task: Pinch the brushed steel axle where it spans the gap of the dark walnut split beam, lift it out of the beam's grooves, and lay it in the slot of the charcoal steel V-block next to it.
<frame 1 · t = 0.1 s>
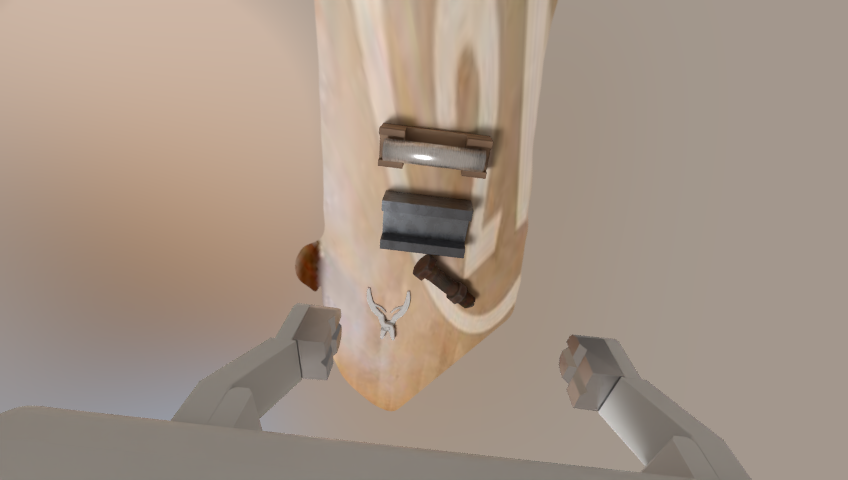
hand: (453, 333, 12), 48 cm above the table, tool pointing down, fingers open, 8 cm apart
bolt: (446, 277, 71), on the table
axle: (434, 155, 52), point 5 cm above the table, touching beam
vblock: (425, 219, 63), on the table
pliers: (388, 312, 77), on the table
beam: (434, 147, 56), on the table
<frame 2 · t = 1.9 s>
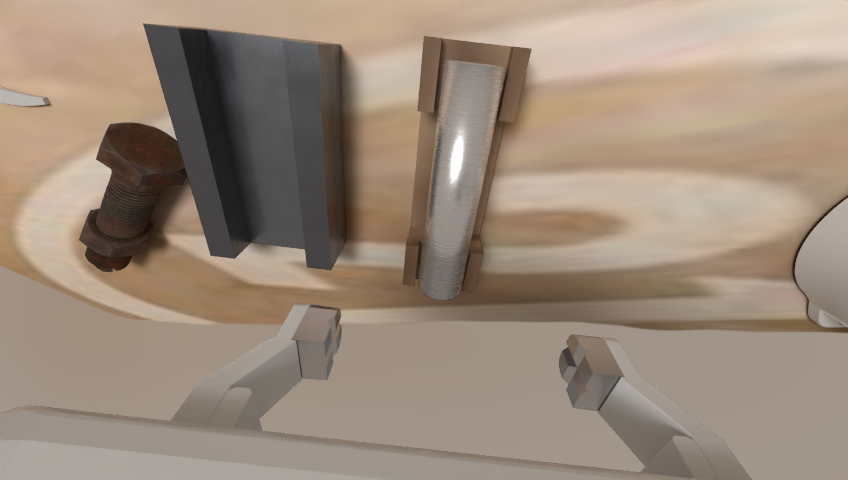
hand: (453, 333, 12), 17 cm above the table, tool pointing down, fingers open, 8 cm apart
bolt: (148, 197, 30), on the table
axle: (454, 194, 22), point 5 cm above the table, touching beam
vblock: (282, 151, 26), on the table
beam: (453, 171, 26), on the table
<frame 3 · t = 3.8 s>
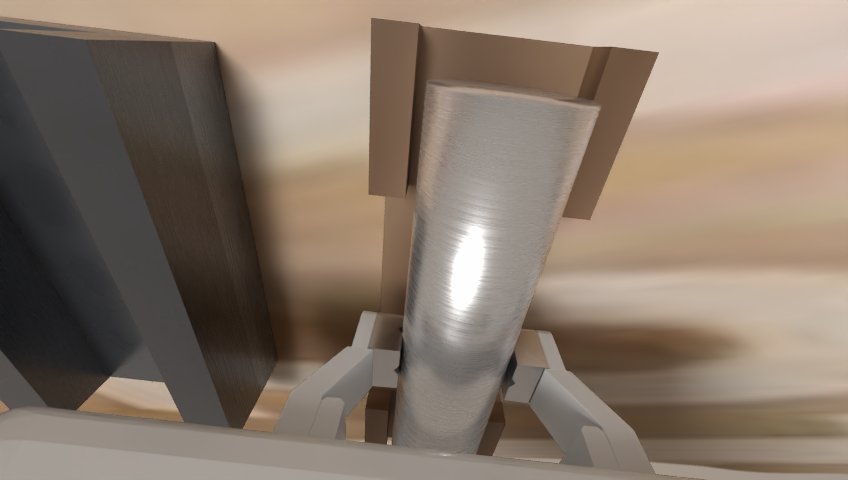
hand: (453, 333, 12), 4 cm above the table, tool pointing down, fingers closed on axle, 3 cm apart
axle: (453, 352, 11), point 5 cm above the table, touching beam, gripper
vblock: (145, 233, 15), on the table
beam: (450, 268, 15), on the table
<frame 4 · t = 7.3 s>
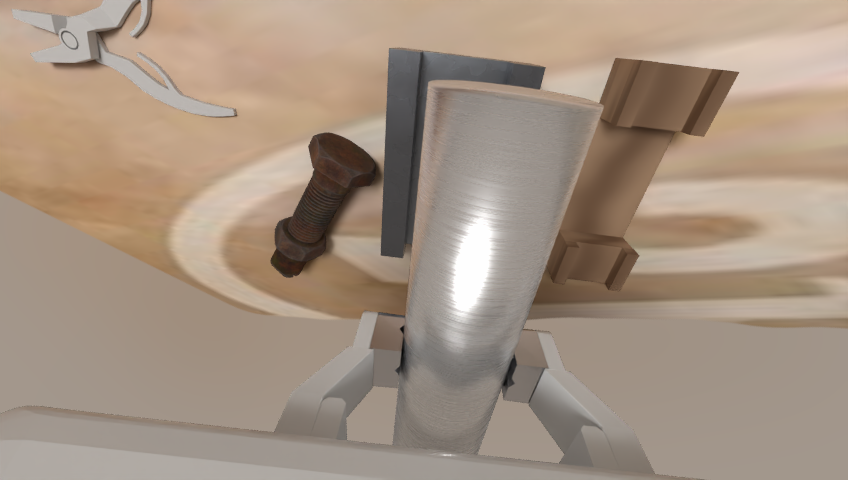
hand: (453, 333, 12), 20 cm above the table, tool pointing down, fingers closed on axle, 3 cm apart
bolt: (320, 204, 32), on the table
axle: (454, 353, 11), point 21 cm above the table, touching gripper
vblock: (449, 159, 29), on the table
pliers: (136, 44, 26), on the table
beam: (607, 179, 28), on the table
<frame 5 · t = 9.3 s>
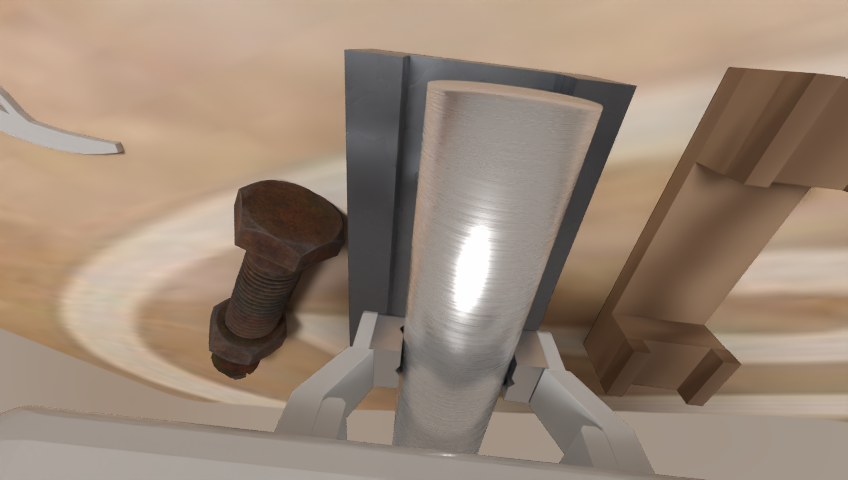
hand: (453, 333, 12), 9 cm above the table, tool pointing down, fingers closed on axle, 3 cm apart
bolt: (276, 274, 23), on the table
axle: (454, 353, 11), point 10 cm above the table, touching gripper
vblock: (452, 216, 19), on the table
beam: (689, 245, 19), on the table
when the fingers open (5 cm above the table, at t = 10.7 s): axle drops 2 cm, resting on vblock.
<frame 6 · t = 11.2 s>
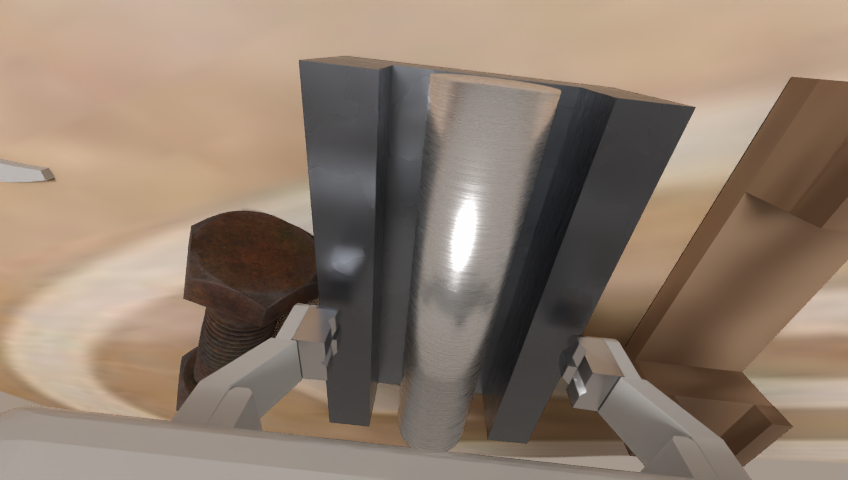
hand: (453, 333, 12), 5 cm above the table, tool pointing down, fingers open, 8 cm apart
bolt: (254, 313, 20), on the table
axle: (452, 303, 13), point 4 cm above the table, touching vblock
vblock: (449, 252, 16), on the table
beam: (727, 283, 16), on the table
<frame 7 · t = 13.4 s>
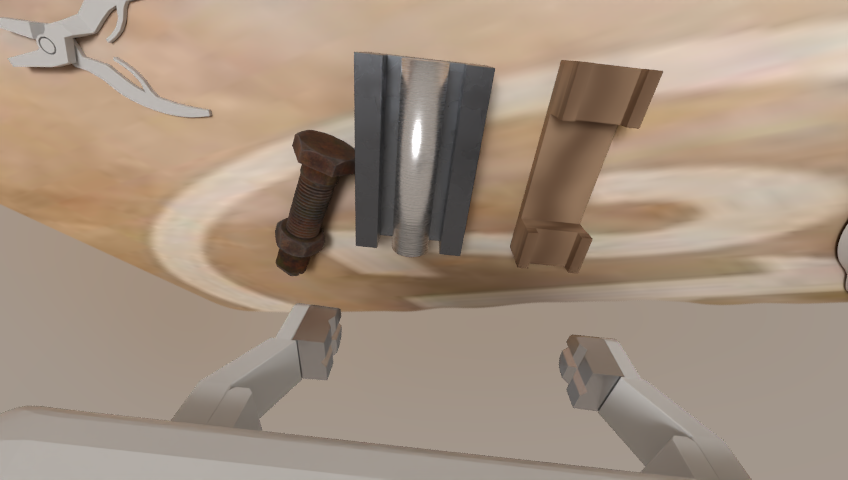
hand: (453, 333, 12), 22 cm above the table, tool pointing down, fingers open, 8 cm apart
bolt: (314, 202, 34), on the table
axle: (416, 167, 28), point 4 cm above the table, touching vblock
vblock: (417, 154, 31), on the table
pliers: (112, 49, 27), on the table
beam: (562, 170, 31), on the table
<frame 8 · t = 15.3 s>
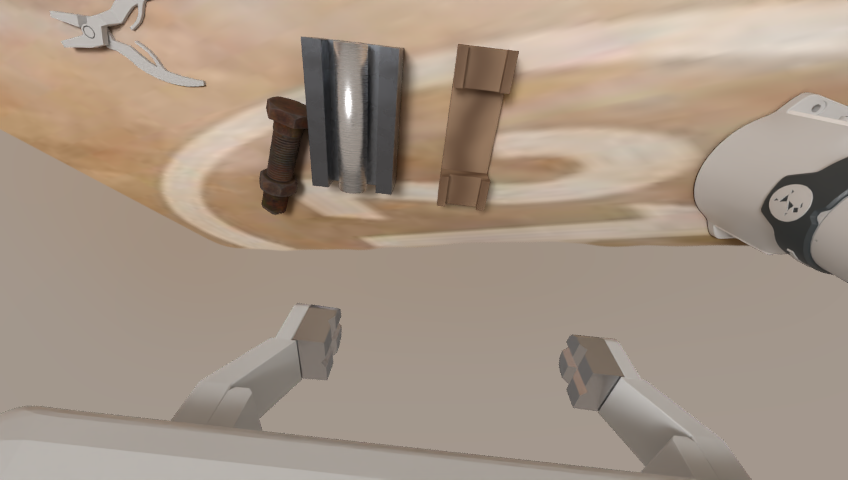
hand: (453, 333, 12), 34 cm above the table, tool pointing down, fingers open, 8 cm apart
bolt: (289, 156, 44), on the table
axle: (352, 123, 38), point 4 cm above the table, touching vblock
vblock: (360, 117, 41), on the table
pliers: (134, 35, 38), on the table
beam: (470, 130, 41), on the table
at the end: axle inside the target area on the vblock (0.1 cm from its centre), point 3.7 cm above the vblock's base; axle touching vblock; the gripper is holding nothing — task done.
